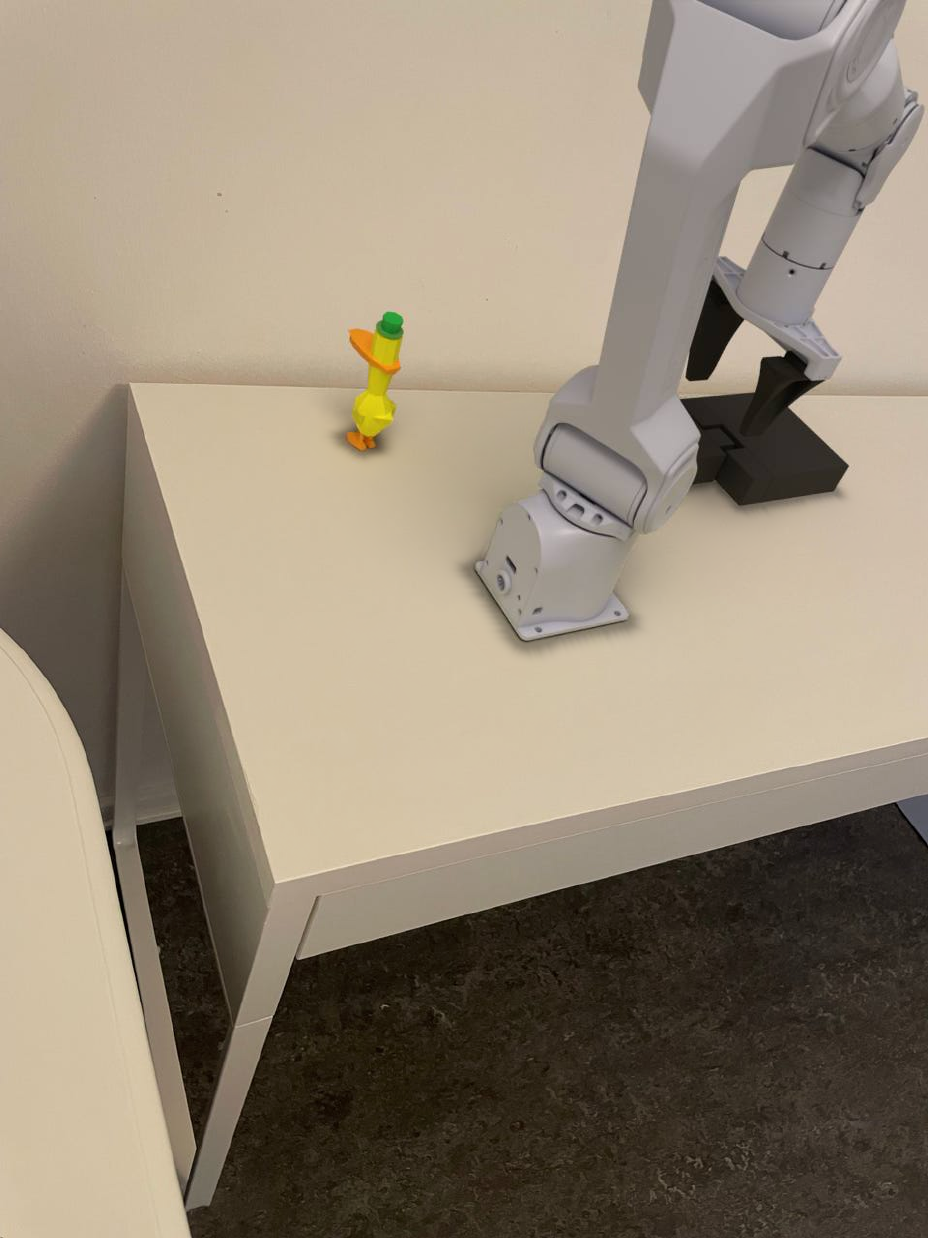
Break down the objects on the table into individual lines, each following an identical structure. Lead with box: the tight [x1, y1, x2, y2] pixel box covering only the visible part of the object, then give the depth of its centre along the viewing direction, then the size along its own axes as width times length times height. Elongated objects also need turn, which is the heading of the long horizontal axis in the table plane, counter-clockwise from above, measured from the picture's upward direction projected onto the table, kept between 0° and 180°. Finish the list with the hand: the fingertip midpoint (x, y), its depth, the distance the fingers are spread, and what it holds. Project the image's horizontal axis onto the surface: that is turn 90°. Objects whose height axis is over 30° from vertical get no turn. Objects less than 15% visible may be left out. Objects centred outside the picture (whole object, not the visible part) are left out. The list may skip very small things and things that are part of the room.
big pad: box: [679, 391, 850, 506], centre depth 97 cm, size 12×12×3 cm
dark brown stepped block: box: [692, 422, 734, 485], centre depth 93 cm, size 7×5×3 cm
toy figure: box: [346, 311, 405, 452], centre depth 81 cm, size 7×4×12 cm, turn 40°
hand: (722, 405), depth 84 cm, fingers open, 7 cm apart
